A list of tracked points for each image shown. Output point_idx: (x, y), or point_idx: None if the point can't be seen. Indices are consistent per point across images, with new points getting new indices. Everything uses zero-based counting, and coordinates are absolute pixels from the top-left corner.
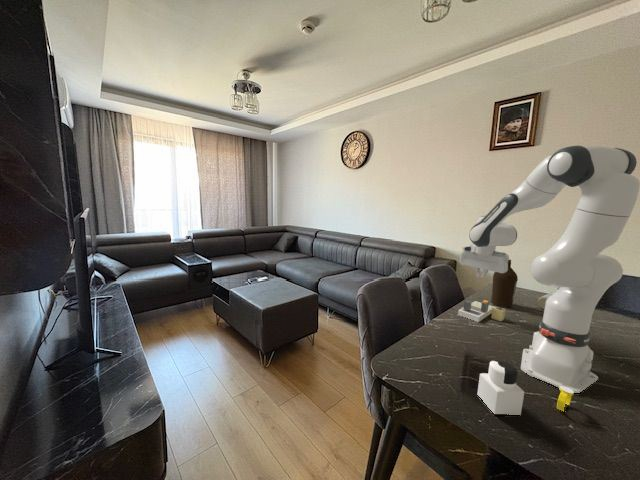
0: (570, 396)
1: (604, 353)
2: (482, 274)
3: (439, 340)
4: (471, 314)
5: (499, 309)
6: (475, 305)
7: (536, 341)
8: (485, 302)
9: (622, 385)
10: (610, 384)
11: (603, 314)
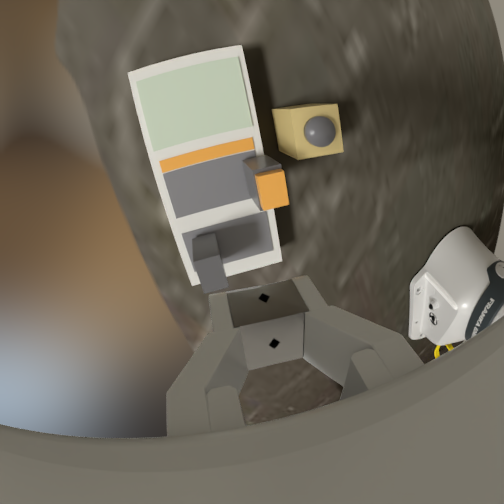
0: (450, 345)
1: (492, 118)
2: (310, 358)
3: (282, 399)
4: (250, 268)
5: (327, 144)
6: (180, 143)
7: (451, 336)
8: (281, 204)
9: (495, 228)
10: (487, 242)
11: None
